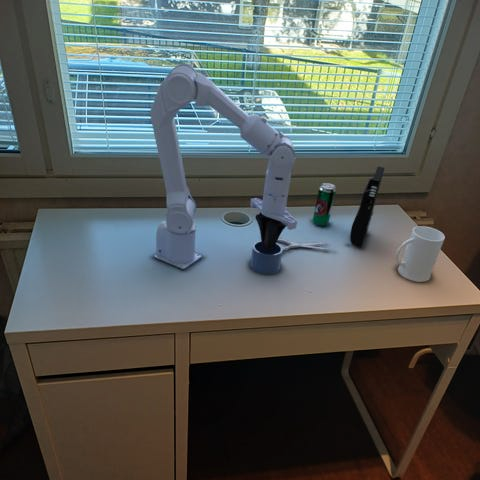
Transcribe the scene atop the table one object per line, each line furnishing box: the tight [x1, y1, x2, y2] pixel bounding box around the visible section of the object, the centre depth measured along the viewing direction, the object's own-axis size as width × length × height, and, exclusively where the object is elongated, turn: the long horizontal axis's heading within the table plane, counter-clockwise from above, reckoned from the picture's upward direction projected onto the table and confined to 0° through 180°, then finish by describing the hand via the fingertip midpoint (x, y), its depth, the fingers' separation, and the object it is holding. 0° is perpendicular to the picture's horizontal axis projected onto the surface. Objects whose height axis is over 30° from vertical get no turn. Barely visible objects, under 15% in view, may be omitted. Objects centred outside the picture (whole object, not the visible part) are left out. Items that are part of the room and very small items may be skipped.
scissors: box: [277, 237, 332, 252], centre depth 132 cm, size 11×1×20 cm
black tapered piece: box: [349, 166, 385, 248], centre depth 134 cm, size 12×5×20 cm, turn 160°
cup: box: [250, 240, 284, 275], centre depth 121 cm, size 8×8×6 cm
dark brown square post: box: [263, 225, 273, 251], centre depth 117 cm, size 2×2×6 cm
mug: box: [395, 225, 446, 283], centre depth 123 cm, size 12×8×12 cm
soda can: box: [312, 182, 337, 227], centre depth 142 cm, size 5×5×12 cm
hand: (268, 243), depth 118 cm, fingers closed on dark brown square post, 2 cm apart
